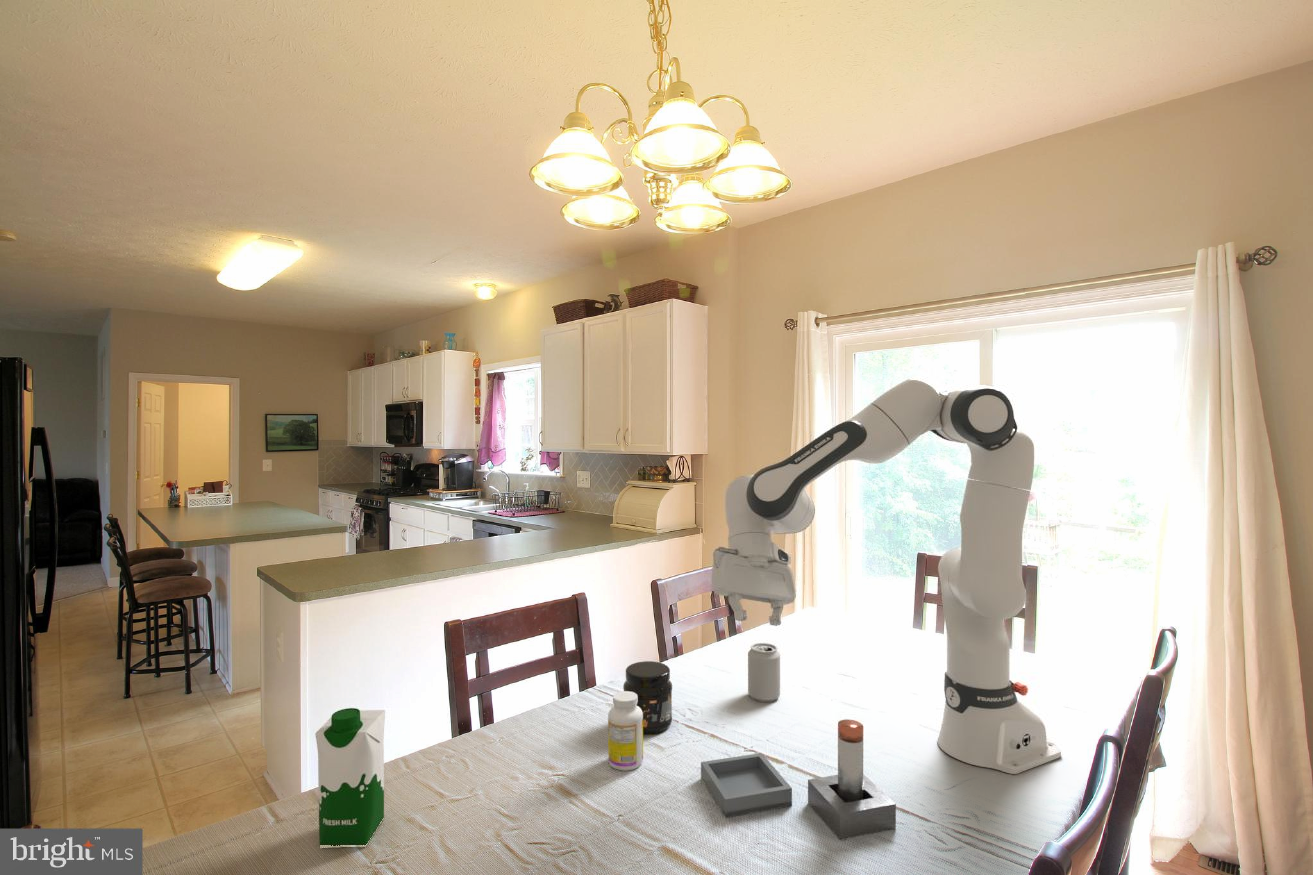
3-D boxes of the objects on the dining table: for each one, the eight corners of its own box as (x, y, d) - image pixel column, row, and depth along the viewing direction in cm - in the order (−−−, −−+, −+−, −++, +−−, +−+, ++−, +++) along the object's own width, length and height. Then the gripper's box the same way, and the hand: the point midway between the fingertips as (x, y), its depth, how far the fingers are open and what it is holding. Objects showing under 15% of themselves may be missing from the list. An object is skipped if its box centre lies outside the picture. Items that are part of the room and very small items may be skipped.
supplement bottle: (624, 750, 125) (624, 685, 125) (650, 761, 121) (650, 694, 121) (601, 764, 120) (600, 696, 120) (626, 776, 116) (626, 706, 116)
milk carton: (310, 853, 95) (308, 721, 95) (338, 816, 104) (337, 695, 104) (369, 851, 95) (368, 720, 95) (392, 815, 104) (391, 694, 104)
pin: (854, 806, 107) (854, 718, 106) (868, 820, 103) (868, 728, 102) (833, 810, 105) (833, 721, 105) (846, 824, 102) (846, 732, 101)
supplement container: (613, 724, 136) (613, 668, 136) (648, 708, 144) (648, 656, 144) (647, 741, 129) (646, 682, 129) (682, 724, 136) (682, 668, 136)
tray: (761, 768, 118) (761, 752, 118) (791, 805, 107) (791, 788, 107) (701, 778, 115) (700, 761, 115) (725, 817, 104) (725, 799, 104)
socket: (859, 793, 110) (859, 770, 110) (895, 828, 101) (895, 803, 101) (807, 802, 108) (807, 779, 108) (839, 839, 98) (839, 814, 98)
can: (779, 704, 146) (780, 653, 145) (747, 702, 147) (747, 650, 147) (780, 691, 153) (780, 642, 153) (748, 689, 154) (748, 640, 154)
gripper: (723, 540, 121) (730, 613, 114) (796, 556, 132) (805, 624, 125) (702, 549, 125) (707, 620, 119) (774, 564, 136) (782, 630, 130)
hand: (758, 622), depth 122 cm, fingers open, 8 cm apart
